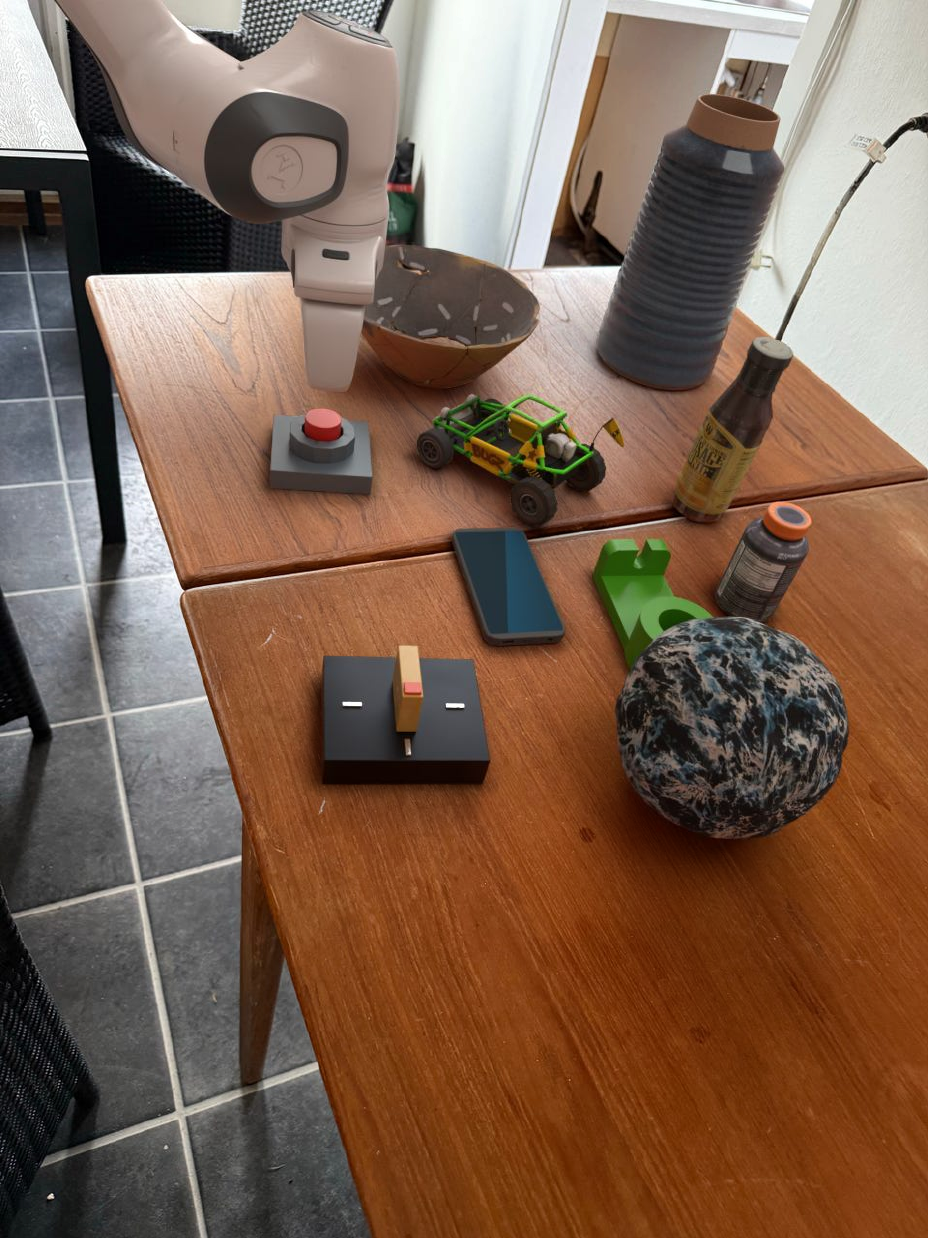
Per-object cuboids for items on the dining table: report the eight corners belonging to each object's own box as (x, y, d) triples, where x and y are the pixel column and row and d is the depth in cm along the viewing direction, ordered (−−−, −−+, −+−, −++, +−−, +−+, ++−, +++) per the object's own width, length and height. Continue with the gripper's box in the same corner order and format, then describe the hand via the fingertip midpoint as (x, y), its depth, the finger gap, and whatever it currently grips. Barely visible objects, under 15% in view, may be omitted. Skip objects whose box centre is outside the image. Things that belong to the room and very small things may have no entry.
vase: (586, 372, 115) (663, 105, 93) (601, 322, 127) (673, 74, 105) (707, 405, 114) (814, 144, 92) (711, 351, 126) (806, 108, 104)
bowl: (314, 313, 114) (318, 236, 107) (494, 322, 121) (509, 250, 114) (340, 421, 97) (346, 337, 91) (547, 424, 104) (568, 347, 97)
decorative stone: (611, 871, 62) (682, 742, 52) (582, 697, 74) (635, 563, 64) (819, 882, 65) (928, 761, 54) (760, 712, 76) (839, 585, 66)
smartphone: (485, 647, 76) (487, 639, 75) (448, 534, 86) (449, 527, 85) (566, 642, 78) (569, 635, 77) (521, 533, 88) (523, 526, 88)
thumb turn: (392, 680, 68) (398, 642, 65) (411, 680, 68) (418, 643, 65) (396, 732, 64) (403, 694, 61) (416, 732, 65) (424, 695, 62)
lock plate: (321, 785, 64) (324, 759, 61) (321, 680, 71) (323, 653, 68) (483, 784, 66) (490, 759, 64) (467, 683, 73) (473, 657, 71)
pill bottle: (752, 581, 89) (799, 491, 81) (783, 622, 85) (837, 532, 78) (702, 586, 87) (746, 495, 79) (732, 629, 83) (782, 537, 76)
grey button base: (269, 488, 87) (270, 454, 84) (273, 431, 94) (273, 399, 91) (370, 494, 89) (374, 462, 86) (366, 438, 96) (370, 407, 93)
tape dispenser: (714, 690, 77) (734, 654, 74) (640, 693, 75) (657, 657, 72) (655, 574, 87) (671, 539, 84) (589, 575, 86) (602, 539, 82)
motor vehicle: (477, 421, 102) (493, 337, 95) (615, 501, 95) (644, 417, 88) (412, 457, 95) (425, 369, 88) (556, 546, 88) (583, 458, 81)
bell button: (304, 441, 87) (304, 426, 86) (304, 421, 90) (305, 406, 89) (340, 444, 88) (341, 429, 87) (340, 424, 91) (341, 409, 89)
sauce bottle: (659, 493, 98) (725, 326, 84) (706, 489, 100) (778, 326, 86) (686, 530, 94) (760, 361, 80) (735, 526, 96) (816, 361, 82)
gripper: (298, 190, 82) (292, 328, 92) (294, 286, 68) (288, 438, 77) (366, 199, 83) (353, 335, 93) (376, 296, 69) (360, 444, 78)
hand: (323, 383), depth 85 cm, fingers closed
